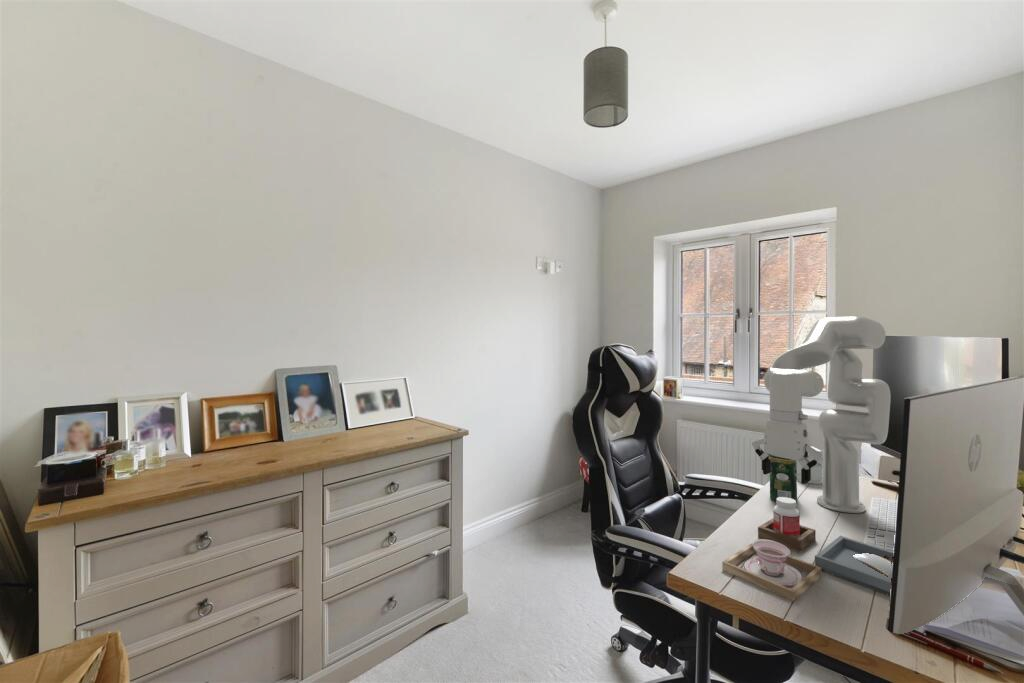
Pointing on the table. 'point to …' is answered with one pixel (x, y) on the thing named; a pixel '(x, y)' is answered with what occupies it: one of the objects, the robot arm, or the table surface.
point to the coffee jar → (783, 478)
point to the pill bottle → (786, 517)
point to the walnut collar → (787, 536)
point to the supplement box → (812, 469)
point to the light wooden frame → (767, 584)
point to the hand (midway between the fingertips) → (785, 478)
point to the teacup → (772, 562)
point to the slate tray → (854, 563)
